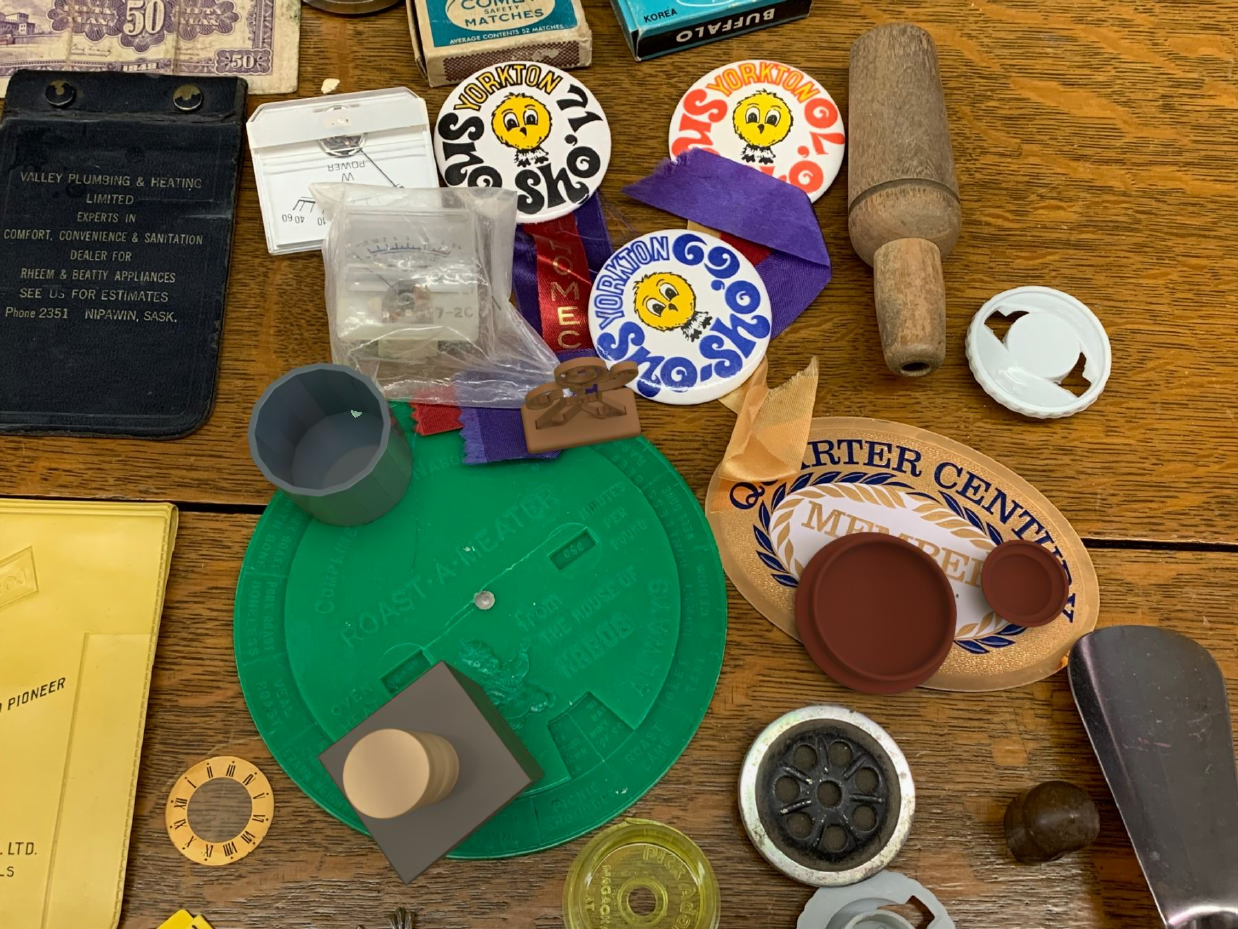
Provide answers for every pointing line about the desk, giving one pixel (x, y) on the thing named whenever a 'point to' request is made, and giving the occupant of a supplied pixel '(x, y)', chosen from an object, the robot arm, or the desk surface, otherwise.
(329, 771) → the stand
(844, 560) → the pottery
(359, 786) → the shaker
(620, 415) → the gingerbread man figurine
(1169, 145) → the desk surface
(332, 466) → the cup
